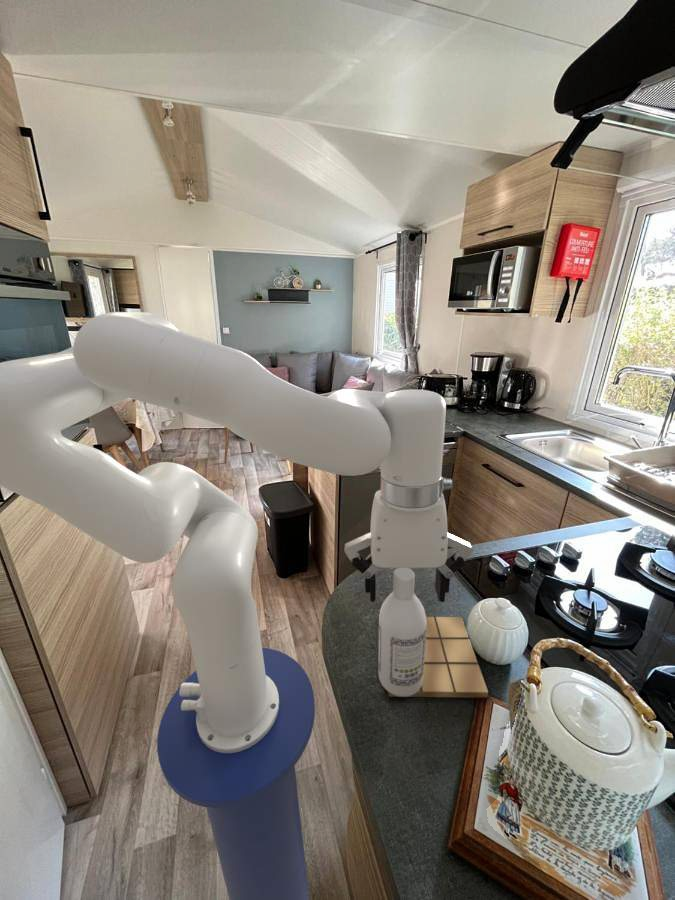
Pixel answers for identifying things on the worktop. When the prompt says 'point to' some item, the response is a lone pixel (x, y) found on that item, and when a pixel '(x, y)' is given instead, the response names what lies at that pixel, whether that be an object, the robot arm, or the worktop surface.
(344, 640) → the worktop surface
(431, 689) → the grid board
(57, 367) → the robot arm
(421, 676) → the bath foam
